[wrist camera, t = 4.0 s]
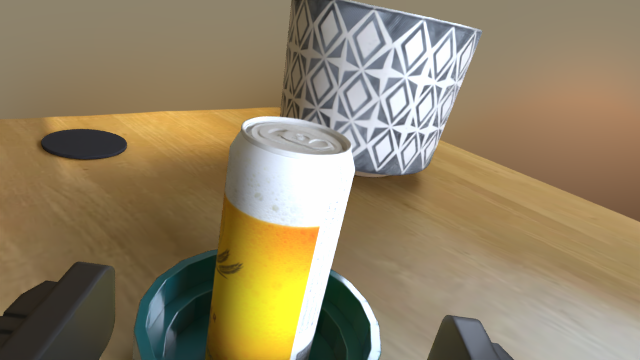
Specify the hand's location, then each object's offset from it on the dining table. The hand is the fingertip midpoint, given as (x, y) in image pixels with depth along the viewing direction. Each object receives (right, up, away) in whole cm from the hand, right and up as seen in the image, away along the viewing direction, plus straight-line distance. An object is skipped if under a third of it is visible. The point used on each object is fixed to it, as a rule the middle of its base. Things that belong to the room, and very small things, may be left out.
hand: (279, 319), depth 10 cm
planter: (+6, +7, +56) cm, 56 cm away
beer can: (-3, -8, +16) cm, 18 cm away
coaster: (-27, +8, +41) cm, 50 cm away
